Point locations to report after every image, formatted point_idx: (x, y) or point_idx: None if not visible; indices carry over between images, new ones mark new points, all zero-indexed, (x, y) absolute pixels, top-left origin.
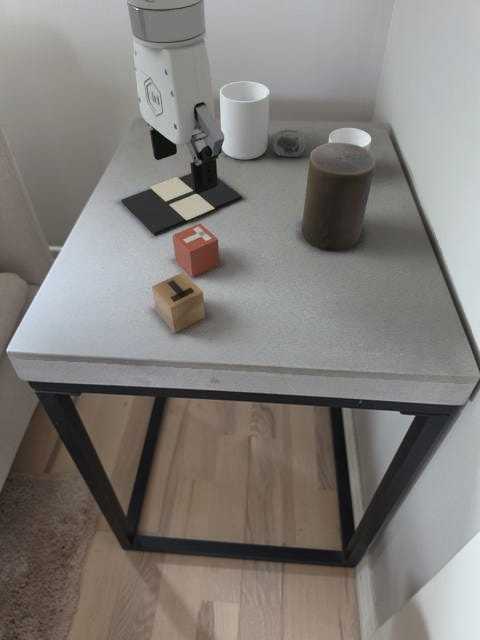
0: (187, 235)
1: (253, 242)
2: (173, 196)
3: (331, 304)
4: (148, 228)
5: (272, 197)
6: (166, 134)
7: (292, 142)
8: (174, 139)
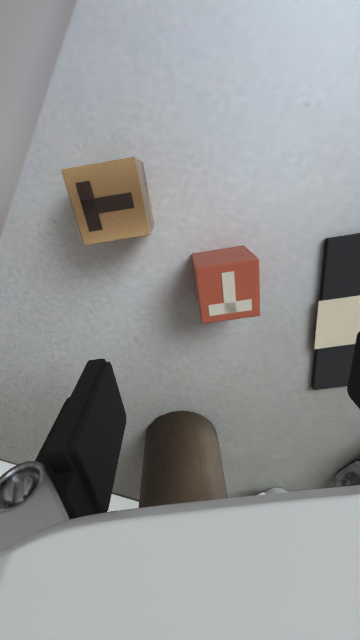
0: (241, 283)
1: (216, 360)
2: None
3: (66, 382)
4: (348, 235)
5: (285, 417)
6: (169, 553)
7: None
8: (28, 579)
